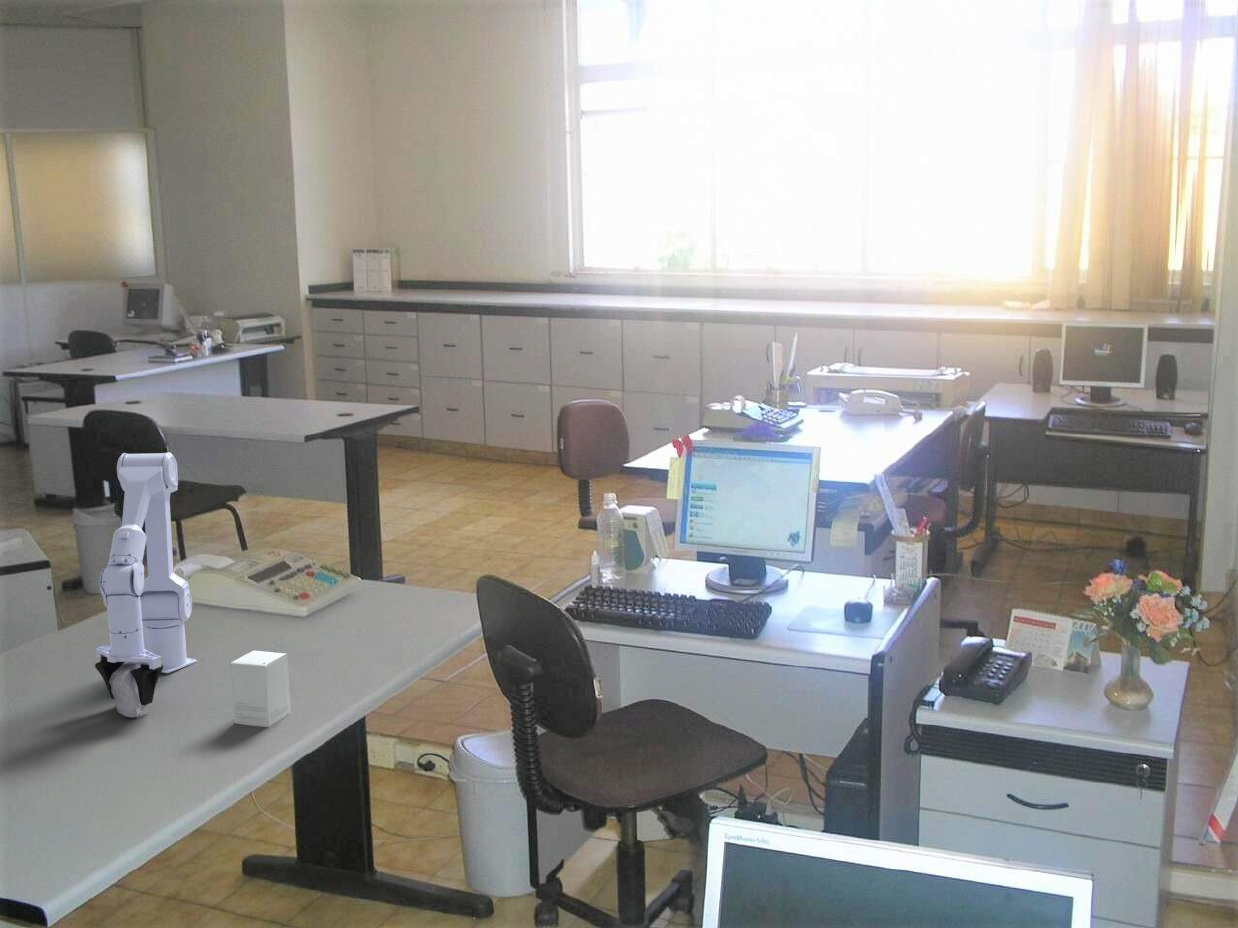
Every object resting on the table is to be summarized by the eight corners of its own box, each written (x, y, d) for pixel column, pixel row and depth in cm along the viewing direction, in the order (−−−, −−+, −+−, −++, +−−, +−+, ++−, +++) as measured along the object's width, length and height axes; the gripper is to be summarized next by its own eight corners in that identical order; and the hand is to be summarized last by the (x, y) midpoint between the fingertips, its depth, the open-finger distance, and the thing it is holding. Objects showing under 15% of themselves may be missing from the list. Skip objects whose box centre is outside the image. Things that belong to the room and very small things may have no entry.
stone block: (131, 702, 237) (129, 651, 235) (157, 703, 237) (155, 652, 235) (107, 726, 225) (105, 673, 223) (134, 727, 225) (132, 673, 224)
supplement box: (293, 719, 228) (289, 652, 226) (269, 734, 221) (264, 665, 219) (258, 715, 230) (254, 649, 228) (233, 729, 224) (229, 661, 221)
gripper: (79, 629, 228) (86, 701, 230) (137, 640, 221) (143, 713, 224) (111, 619, 234) (117, 689, 236) (167, 629, 227) (173, 700, 230)
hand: (131, 700), depth 230 cm, fingers open, 7 cm apart
